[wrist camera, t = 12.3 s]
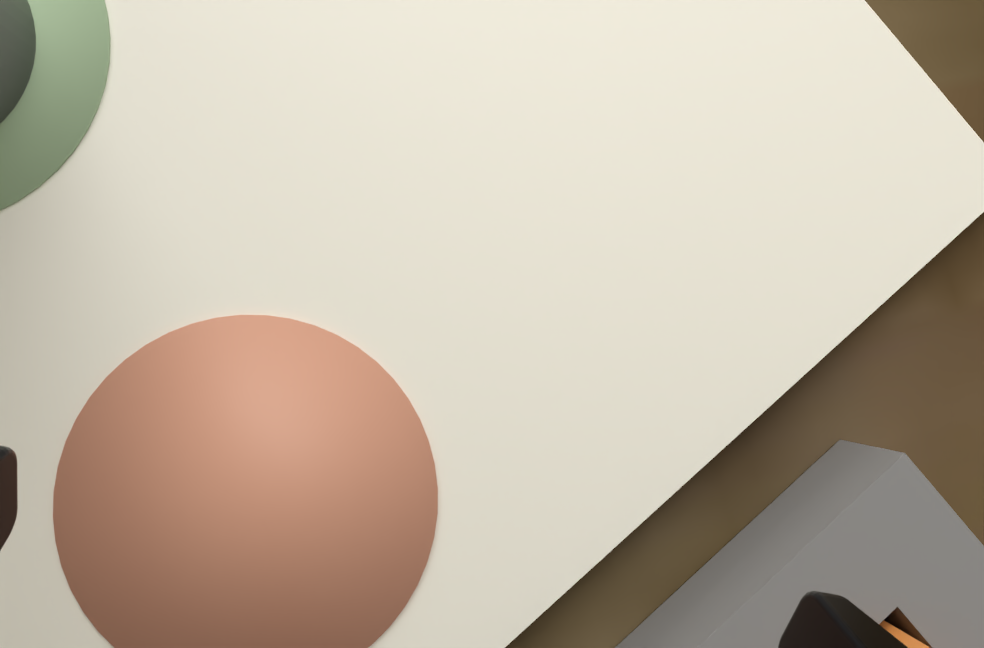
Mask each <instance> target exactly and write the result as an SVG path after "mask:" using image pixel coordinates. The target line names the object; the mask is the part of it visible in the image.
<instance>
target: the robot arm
mask: <svg viewBox="0 0 984 648" xmlns="http://www.w3.org/2000/svg"><path fill="white" fill-rule="evenodd" d="M17 509H18V490H17V456H16V454H15V452H14V451H13V450H12V449H11V448H9V447H6V446H1V445H0V551H1V549H2V547H3V546H4V544H5V542H6V540H7V539H8V537H9V535H10V533H11V531H12V529H13V527H14V524H15V521H16V517H17ZM778 648H908V647H907V646H906V645H904V644H903V643H902V642H901V641H899V640H898V639H897V638H895V637H894V636H893V635H892V634H890V633H889V632H888V631H887V630H885V629H884V628H883V627H882V626H880V625H879V624H878V623H877V622H875V621H874V620H873V619H872V618H870V617H869V616H868V615H867V614H865V613H864V612H863V611H862V610H860V609H859V608H858V607H857V606H855V605H854V604H853V603H852V602H850V601H849V600H848V599H846V598H845V597H843V596H840V595H836V594H830V593H825V592H819V591H810V592H807V593H806V594H805V595H804V596H803V597H802V598H801V600H800V602H799V604H798V606H797V607H796V609H795V611H794V613H793V615H792V617H791V619H790V621H789V623H788V625H787V626H786V628H785V630H784V632H783V634H782V636H781V638H780V641H779V645H778Z"/></svg>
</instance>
